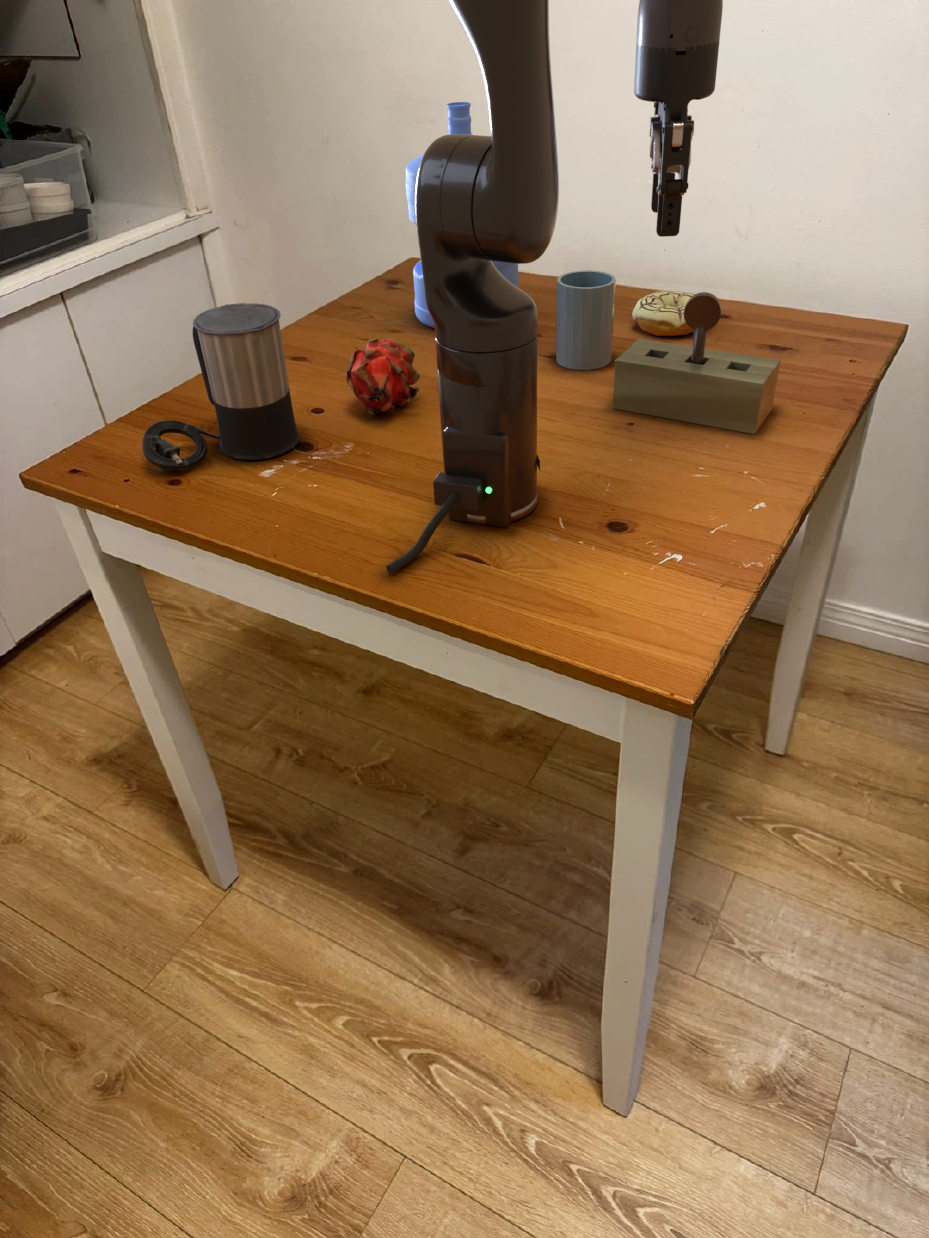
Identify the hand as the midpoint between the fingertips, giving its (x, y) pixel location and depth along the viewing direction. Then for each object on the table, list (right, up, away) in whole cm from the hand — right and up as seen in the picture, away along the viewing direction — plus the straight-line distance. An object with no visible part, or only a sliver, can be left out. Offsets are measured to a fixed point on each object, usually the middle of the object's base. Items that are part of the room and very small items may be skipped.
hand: (664, 223), depth 94 cm
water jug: (-20, +5, +43) cm, 48 cm away
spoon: (+6, -16, +14) cm, 22 cm away
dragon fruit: (-30, -15, +19) cm, 39 cm away
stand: (+6, -16, +14) cm, 22 cm away
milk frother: (-48, -22, +11) cm, 54 cm away
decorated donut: (+9, +1, +36) cm, 37 cm away
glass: (-5, -6, +28) cm, 29 cm away
